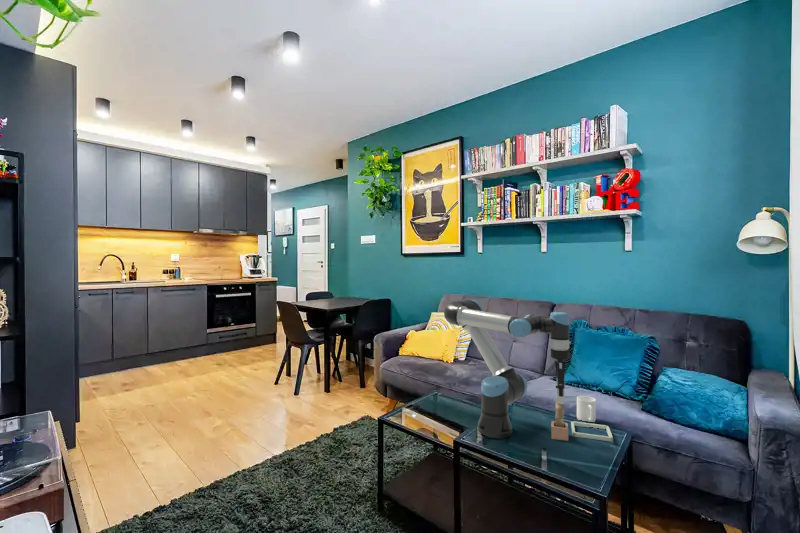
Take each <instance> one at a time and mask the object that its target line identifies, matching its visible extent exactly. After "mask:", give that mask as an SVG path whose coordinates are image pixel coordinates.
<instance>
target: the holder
mask: <svg viewBox="0 0 800 533" xmlns="http://www.w3.org/2000/svg"><path fill="white" fill-rule="evenodd" d="M550 425H551V429H550V433H551V440H556V441H557V440H558V441H566V442H568V441H569V424H568V423H567V422H564V428H563V427H556V420H555V421H554V420H551V421H550Z"/></svg>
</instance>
